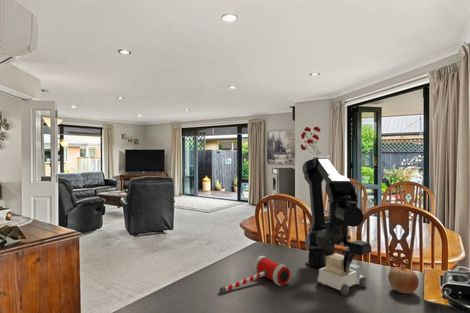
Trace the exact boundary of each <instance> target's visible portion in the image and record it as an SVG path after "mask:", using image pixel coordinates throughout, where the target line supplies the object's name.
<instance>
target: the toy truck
mask: <svg viewBox="0 0 470 313" xmlns="http://www.w3.org/2000/svg"><path fill="white" fill-rule="evenodd" d="M367 283H368V279H367V277H365V275H362V274H361V266H360V265H357V264H355V263H354V264H353V263H351V264H350V268H349V274H346V275H343V276H339V275H336V274H333V273H331V272H328V271H326V267H324V268H321V269H318V275H316V278H315V284H316V285H319V286H321V285H322V284H324V285H326V286H329V287H331V288H333V289H335V290H338V291H340V292H341V295H342V296H348V295H349V292H350V287H351V286H355V285H357V284H359V286H360V287H362V288H365V287H366V286H367Z"/></svg>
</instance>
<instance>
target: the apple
mask: <svg viewBox="0 0 470 313" xmlns="http://www.w3.org/2000/svg"><path fill="white" fill-rule="evenodd" d="M400 266H401V267H399V266H395V267H392V268H391V269H390V271H389V272H388V277H387V278H388V282H389V284H390V287H391V288H392V289H393V290H395V292H398V293H400V294H412V293H414V292H416V291H417V289H418V288H419V284H420V283H419V281H420V280H419V277H418V275H417V274H416V272H415V271H413V270H412V269H409V268H404V267H403V264H401V265H400Z"/></svg>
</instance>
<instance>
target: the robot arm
mask: <svg viewBox="0 0 470 313" xmlns="http://www.w3.org/2000/svg"><path fill="white" fill-rule="evenodd" d="M301 168H302V169H301V170H302V173H303V177H304V180H305V181H306V183H307V184H308V189H309V198H310V199H309V200H310V202H309V203H310V212H311V213H310V214H311V224H310V225H309V228H308V230H307V232H308V233H307V235H306V237H305V240H304V247H305V248H306V250H308V261H306V262H305V265H307V266H309V267H311V268H315V269H318V270H319V269H321V268H324V267H326V256H328V255H331V254H334V253H335V245H336V246H342V247H345V250H342V251H341V253H342V255H343V256H344V272H347V270H348V268H349V266H350V264H352V262H353V261H354V259H355V257H356V255H357V256H364V255H368V254H371V253H372V245H371V243H370V242H367V241H363V240H360V239H357V240H354V241H350V240H351V235H349V227H352V228H356V227H359V226H360V225H361V224H362V222H363V221H364V214H363V211H362V209H360V207H358V203H359V201H358V195H357V192H356V190H355V188H354V185H353V183H352V181H351V180H350V179H349V178H348V177H347V176H345V175H342V174H339V173H338V170H336V168H335V167H334V166H333V164H332V163H331V162H330V158H329V157H327V156H314V157H313V158H312V159H308V160H306V161H305V162H304V163H303V164H302V167H301ZM323 181H324V182H325V193H326V196H327V197H328V201H327V202H328V203H329V205H328V206H329V209H328V210H329V211H328V214H329V215H328V221H327V222H326V221H325V220H326V217H325V207H324V197H323V196H324V195H323V187H322V185H323V184H322V183H323Z"/></svg>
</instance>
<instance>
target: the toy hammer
mask: <svg viewBox="0 0 470 313" xmlns="http://www.w3.org/2000/svg"><path fill="white" fill-rule="evenodd" d="M253 270H254V273H255V274H254V275H252V276H249V277H246V278H244V279H241V280H239V281H236V282H234V283H232V284H229V285H226V286H222V287H219V293H221V294H222V295H225V294H227V292H229V291H232V290H234V289H236V288H238V287H241V286H244V285H246V284H248V283H250V282H253V281H255V280H258V279H261V278H262V277H265V278H268V279H269V280H271V281H273V283H274V284H276V285H278V286H279V287H282V286H284V285H287V284H288V283H289V281H290V280H291V276H292V272H291V269H290V267H289V266H288V265H285V264H279V263H277V262H274V261H272V260H270V258H269V257H267V256H266V255H259V256H258V257H257V258H256V259H255V260H254V263H253Z"/></svg>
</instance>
